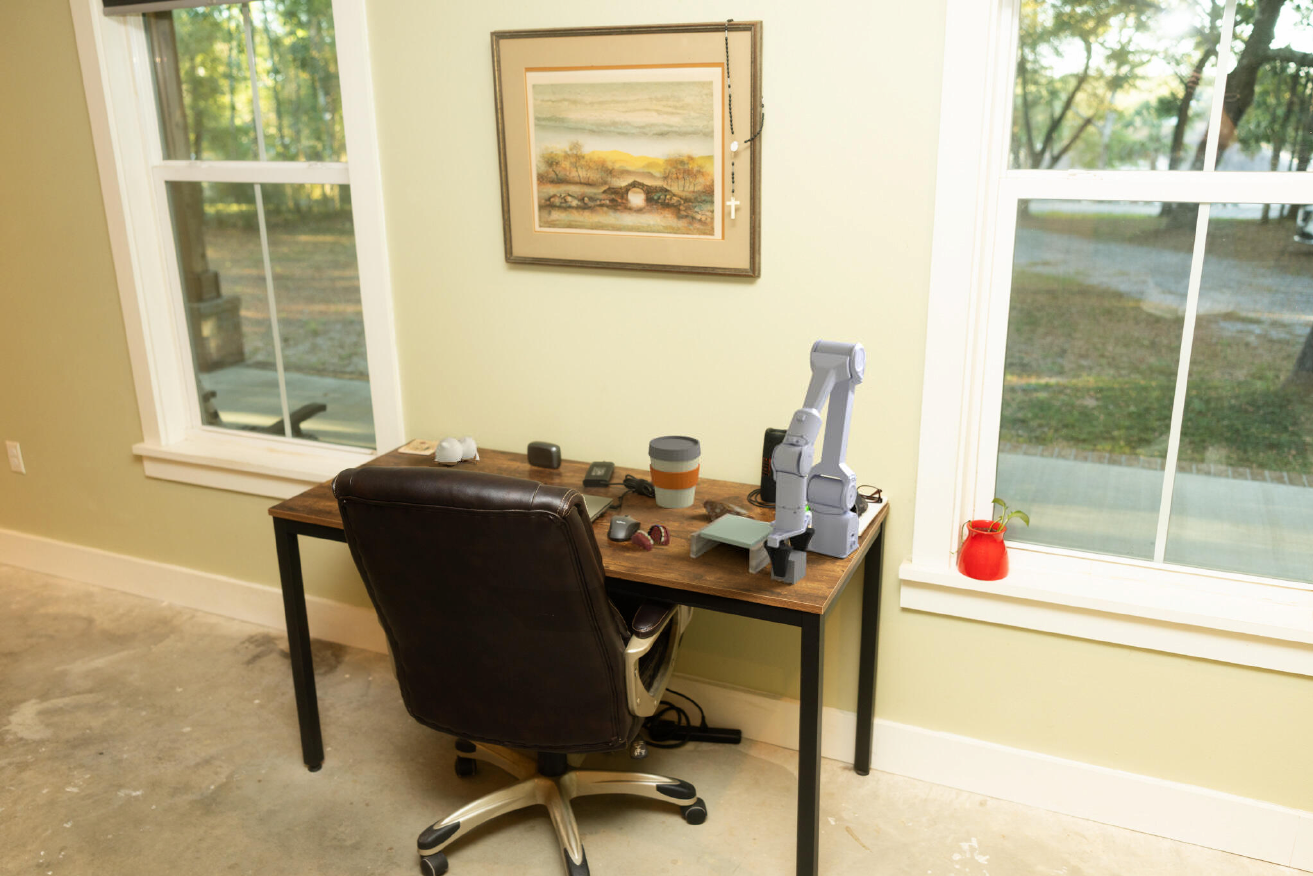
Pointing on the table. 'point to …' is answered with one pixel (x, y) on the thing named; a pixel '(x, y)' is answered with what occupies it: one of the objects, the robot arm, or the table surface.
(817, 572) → the table surface
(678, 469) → the reusable coffee cup
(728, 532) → the trapdoor
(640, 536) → the dentures model
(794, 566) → the granite block
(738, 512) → the decorative stone
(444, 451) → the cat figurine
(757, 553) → the frame
